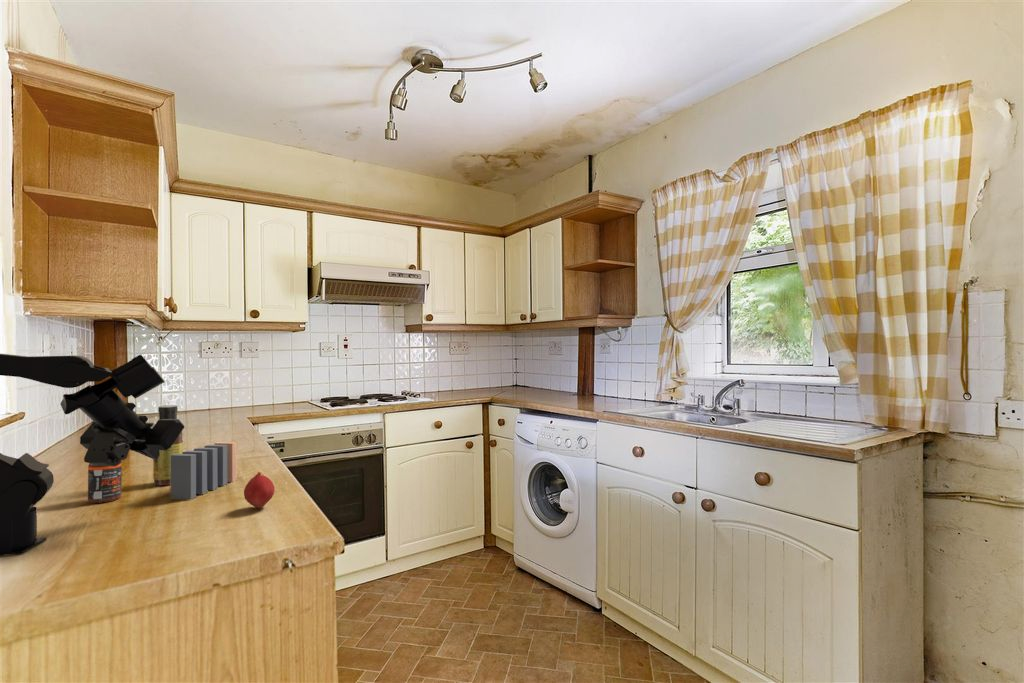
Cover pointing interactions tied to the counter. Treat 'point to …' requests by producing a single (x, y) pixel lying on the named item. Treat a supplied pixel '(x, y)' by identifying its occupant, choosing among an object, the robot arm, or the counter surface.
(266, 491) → the onion
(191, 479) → the domino
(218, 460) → the domino
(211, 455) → the domino
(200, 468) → the domino
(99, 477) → the supplement bottle
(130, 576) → the counter surface
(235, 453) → the domino
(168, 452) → the sauce bottle
